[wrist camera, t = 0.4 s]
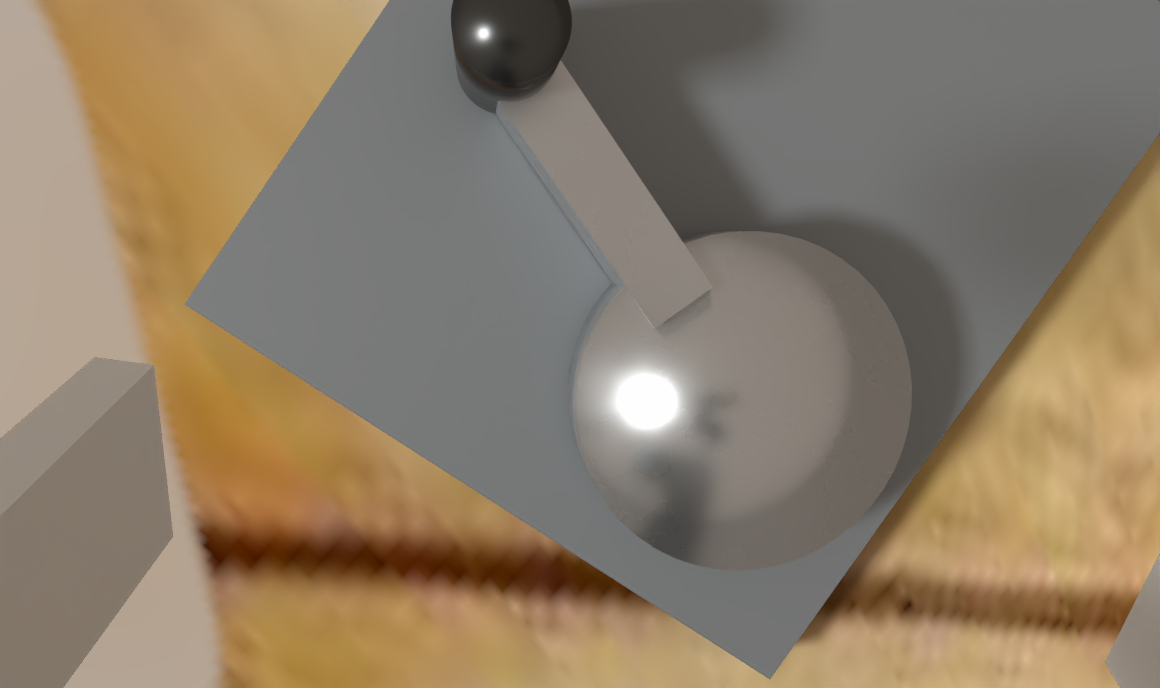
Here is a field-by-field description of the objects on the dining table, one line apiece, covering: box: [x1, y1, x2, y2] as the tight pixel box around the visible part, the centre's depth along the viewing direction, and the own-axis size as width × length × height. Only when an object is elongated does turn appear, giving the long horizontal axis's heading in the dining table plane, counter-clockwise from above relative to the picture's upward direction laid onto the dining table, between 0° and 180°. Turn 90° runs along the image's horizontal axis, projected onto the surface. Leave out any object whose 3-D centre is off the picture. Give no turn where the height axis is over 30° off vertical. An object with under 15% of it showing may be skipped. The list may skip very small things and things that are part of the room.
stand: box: [185, 0, 1160, 679], centre depth 29 cm, size 25×22×2 cm
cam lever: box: [451, 0, 912, 571], centre depth 26 cm, size 18×10×6 cm, turn 35°
